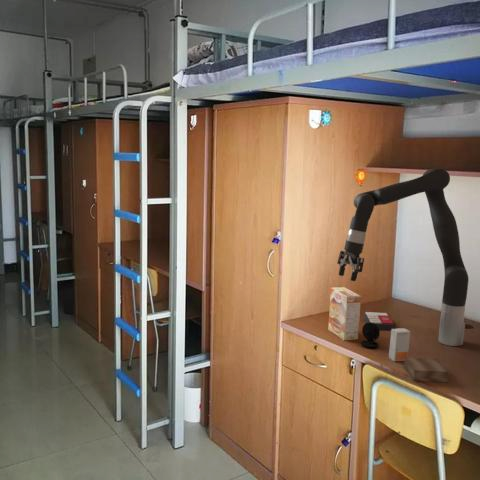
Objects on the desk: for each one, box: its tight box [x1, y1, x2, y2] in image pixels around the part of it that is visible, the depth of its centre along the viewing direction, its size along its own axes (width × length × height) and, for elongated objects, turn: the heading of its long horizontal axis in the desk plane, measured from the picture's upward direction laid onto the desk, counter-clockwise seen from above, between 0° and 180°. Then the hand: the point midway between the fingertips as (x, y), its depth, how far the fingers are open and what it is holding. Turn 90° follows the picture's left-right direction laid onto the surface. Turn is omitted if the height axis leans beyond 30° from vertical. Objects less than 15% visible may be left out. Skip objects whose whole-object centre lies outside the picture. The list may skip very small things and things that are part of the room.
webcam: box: [360, 322, 380, 350], centre depth 226 cm, size 8×8×10 cm
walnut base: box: [403, 357, 449, 383], centre depth 199 cm, size 12×12×4 cm
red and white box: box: [363, 311, 395, 331], centre depth 256 cm, size 11×4×15 cm
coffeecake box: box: [328, 286, 362, 341], centre depth 239 cm, size 15×7×20 cm, turn 18°
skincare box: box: [388, 327, 411, 362], centre depth 212 cm, size 6×4×12 cm
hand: (346, 278), depth 231 cm, fingers open, 8 cm apart
